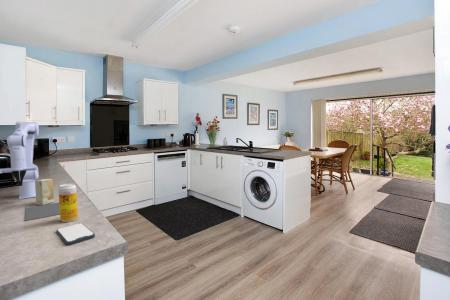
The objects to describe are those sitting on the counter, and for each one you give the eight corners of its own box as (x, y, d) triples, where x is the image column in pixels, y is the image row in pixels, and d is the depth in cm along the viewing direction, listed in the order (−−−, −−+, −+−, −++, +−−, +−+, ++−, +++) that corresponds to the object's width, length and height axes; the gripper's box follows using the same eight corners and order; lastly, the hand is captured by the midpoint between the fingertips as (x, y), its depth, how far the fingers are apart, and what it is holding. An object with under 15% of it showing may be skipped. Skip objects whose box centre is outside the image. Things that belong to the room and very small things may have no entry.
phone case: (55, 233, 87) (67, 247, 76) (55, 229, 86) (66, 242, 76) (82, 226, 93) (96, 238, 82) (82, 222, 93) (96, 233, 82)
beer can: (59, 223, 94) (57, 187, 92) (61, 218, 99) (59, 184, 97) (77, 221, 96) (75, 185, 95) (78, 216, 102) (76, 182, 100)
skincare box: (42, 205, 115) (41, 181, 114) (35, 205, 116) (33, 180, 115) (54, 201, 121) (53, 178, 121) (47, 201, 122) (46, 178, 121)
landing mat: (26, 208, 112) (26, 207, 111) (63, 202, 121) (63, 201, 121) (24, 221, 96) (24, 220, 96) (68, 213, 106) (68, 212, 106)
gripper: (-3, 161, 109) (-1, 189, 110) (36, 158, 118) (38, 184, 119) (-1, 159, 115) (1, 186, 116) (36, 157, 124) (38, 182, 125)
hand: (20, 185), depth 118 cm, fingers closed
